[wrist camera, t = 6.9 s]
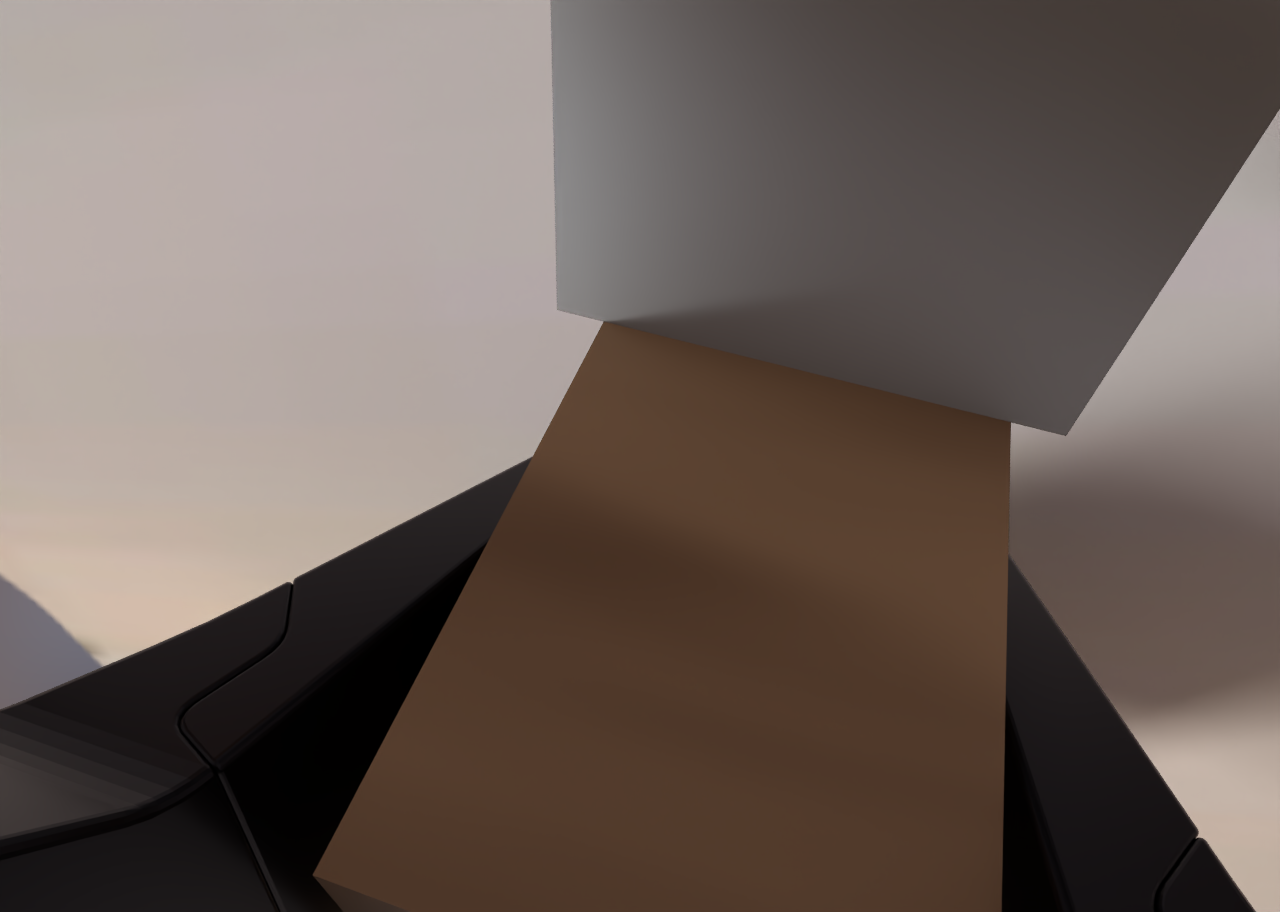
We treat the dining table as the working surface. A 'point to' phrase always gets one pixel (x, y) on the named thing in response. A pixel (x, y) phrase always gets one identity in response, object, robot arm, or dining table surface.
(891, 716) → the bracket
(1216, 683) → the dining table surface
